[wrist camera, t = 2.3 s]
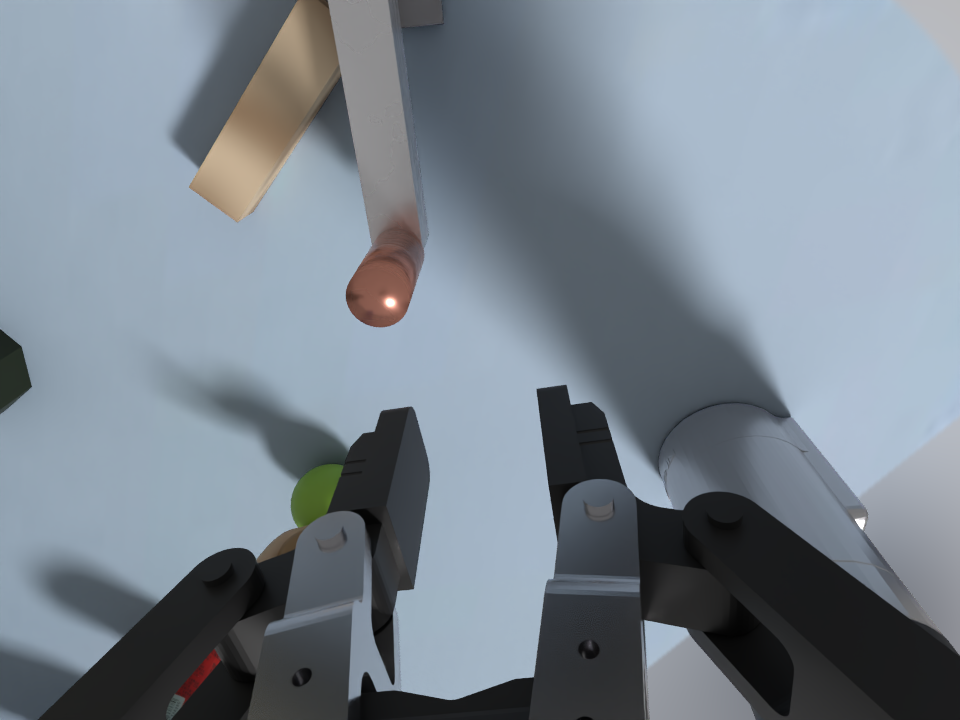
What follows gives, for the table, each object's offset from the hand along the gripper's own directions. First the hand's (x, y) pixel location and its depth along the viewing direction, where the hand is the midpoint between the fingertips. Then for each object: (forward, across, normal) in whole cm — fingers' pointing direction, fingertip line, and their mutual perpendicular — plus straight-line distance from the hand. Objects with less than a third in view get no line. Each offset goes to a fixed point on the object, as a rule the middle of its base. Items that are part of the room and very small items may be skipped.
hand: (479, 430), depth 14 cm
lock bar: (+20, +4, -7) cm, 21 cm away
